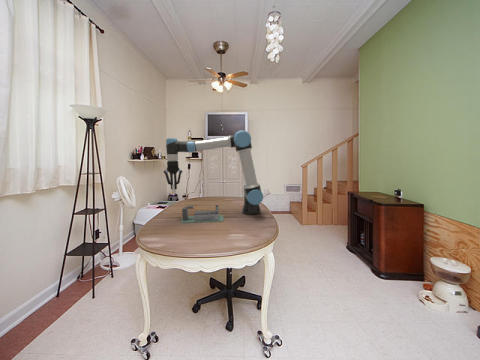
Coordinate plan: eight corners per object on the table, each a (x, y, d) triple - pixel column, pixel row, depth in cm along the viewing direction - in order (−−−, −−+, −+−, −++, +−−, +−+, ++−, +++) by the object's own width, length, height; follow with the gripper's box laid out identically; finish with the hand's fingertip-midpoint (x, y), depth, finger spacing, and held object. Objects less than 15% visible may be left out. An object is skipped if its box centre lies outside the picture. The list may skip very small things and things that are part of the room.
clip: (194, 217, 155) (193, 205, 154) (193, 220, 149) (192, 207, 148) (184, 217, 155) (183, 205, 154) (182, 220, 149) (182, 207, 148)
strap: (217, 209, 155) (217, 208, 155) (217, 211, 151) (217, 209, 151) (195, 208, 154) (195, 207, 153) (194, 210, 150) (194, 208, 149)
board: (223, 215, 161) (223, 215, 161) (223, 221, 148) (223, 220, 148) (183, 217, 158) (183, 216, 158) (180, 223, 145) (180, 222, 145)
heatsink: (218, 215, 159) (218, 204, 158) (218, 220, 148) (218, 208, 147) (196, 216, 158) (195, 204, 157) (194, 221, 147) (193, 208, 146)
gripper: (183, 160, 150) (184, 192, 153) (164, 160, 149) (166, 193, 152) (181, 160, 143) (182, 194, 146) (161, 161, 142) (163, 195, 145)
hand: (174, 193), depth 149 cm, fingers closed
